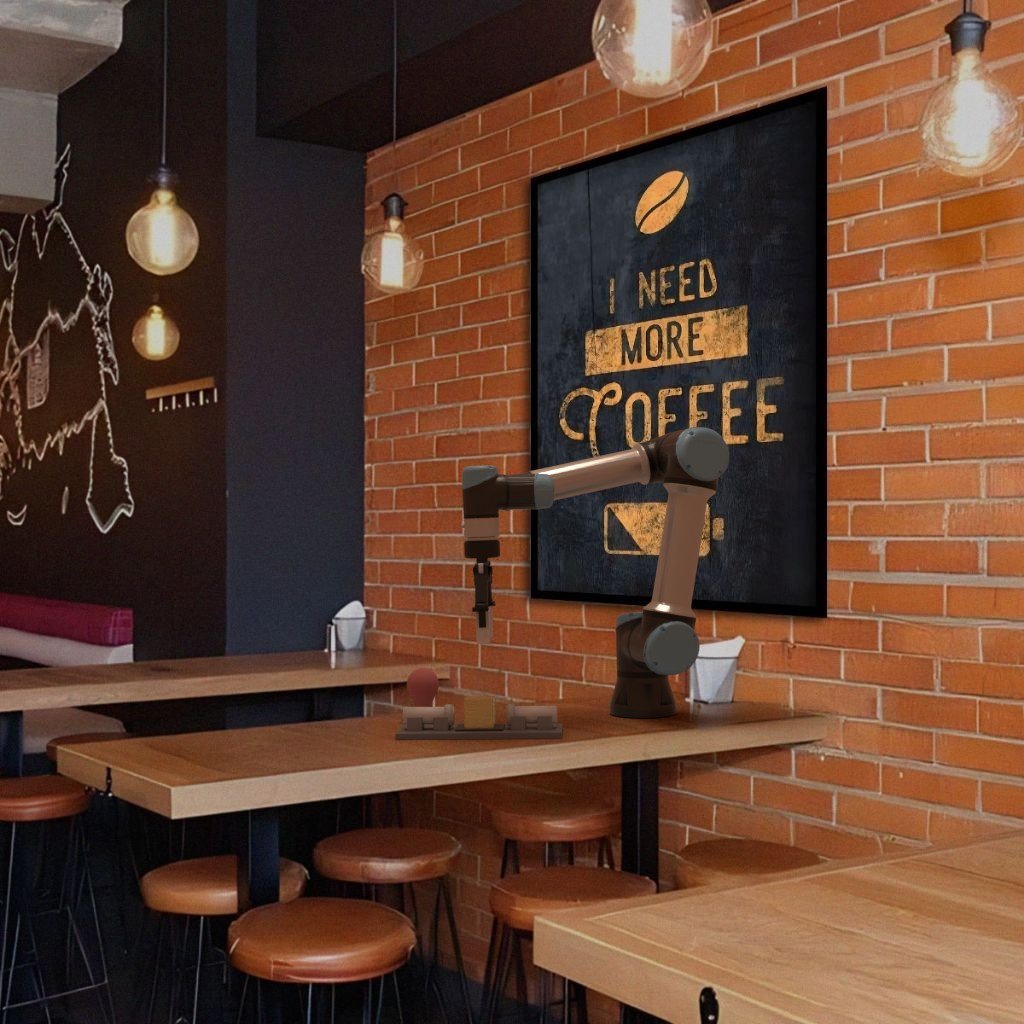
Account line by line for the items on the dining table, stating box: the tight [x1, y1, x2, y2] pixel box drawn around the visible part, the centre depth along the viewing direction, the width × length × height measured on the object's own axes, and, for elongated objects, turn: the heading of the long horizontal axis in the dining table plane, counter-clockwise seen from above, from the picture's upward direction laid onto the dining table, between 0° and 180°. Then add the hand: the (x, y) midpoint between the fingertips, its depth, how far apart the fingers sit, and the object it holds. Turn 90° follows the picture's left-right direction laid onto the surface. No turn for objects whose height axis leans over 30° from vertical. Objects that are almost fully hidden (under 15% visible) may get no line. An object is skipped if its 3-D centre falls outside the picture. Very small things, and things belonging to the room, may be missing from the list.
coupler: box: [463, 695, 496, 729], centre depth 278 cm, size 5×6×6 cm
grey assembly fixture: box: [394, 703, 563, 741], centre depth 278 cm, size 34×12×6 cm, turn 87°
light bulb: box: [406, 667, 440, 707], centre depth 296 cm, size 7×7×12 cm
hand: (485, 640), depth 280 cm, fingers open, 13 cm apart
